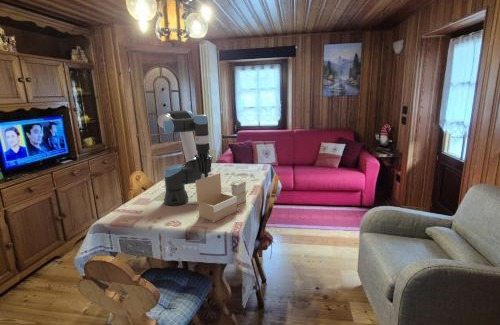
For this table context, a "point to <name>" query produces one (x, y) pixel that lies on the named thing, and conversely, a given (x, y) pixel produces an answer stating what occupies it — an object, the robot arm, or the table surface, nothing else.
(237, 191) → the supplement box
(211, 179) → the lid
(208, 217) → the carton
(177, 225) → the table surface
